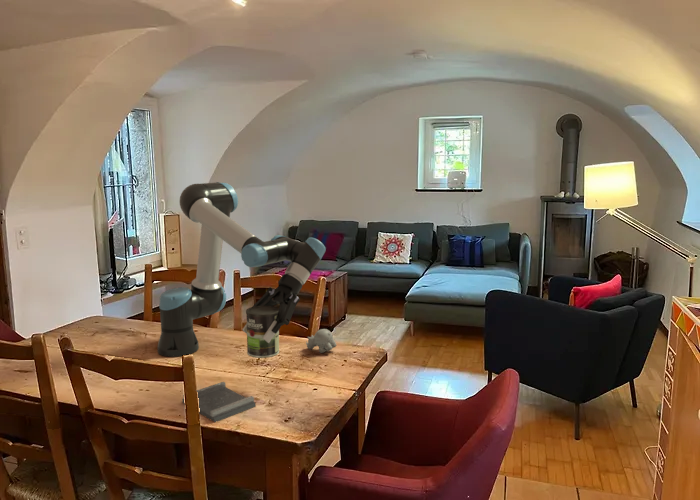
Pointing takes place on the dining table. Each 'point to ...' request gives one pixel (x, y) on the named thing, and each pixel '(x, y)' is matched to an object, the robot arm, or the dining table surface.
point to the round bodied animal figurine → (321, 341)
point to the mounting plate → (222, 402)
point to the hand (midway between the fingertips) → (255, 336)
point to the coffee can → (261, 331)
